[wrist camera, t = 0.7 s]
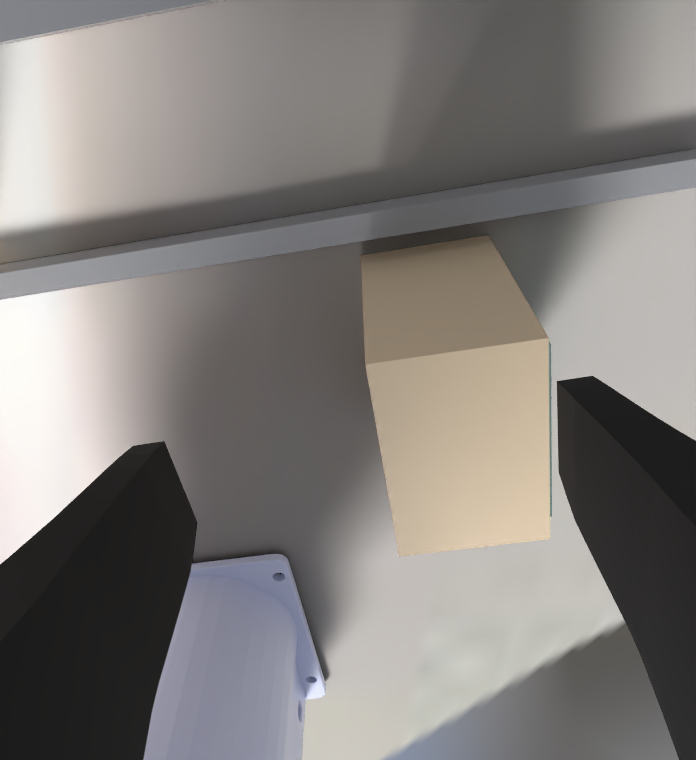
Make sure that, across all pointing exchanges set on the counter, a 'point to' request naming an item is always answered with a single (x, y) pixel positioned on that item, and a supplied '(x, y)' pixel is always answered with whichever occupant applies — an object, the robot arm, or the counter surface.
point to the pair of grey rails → (317, 229)
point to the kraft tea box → (458, 396)
